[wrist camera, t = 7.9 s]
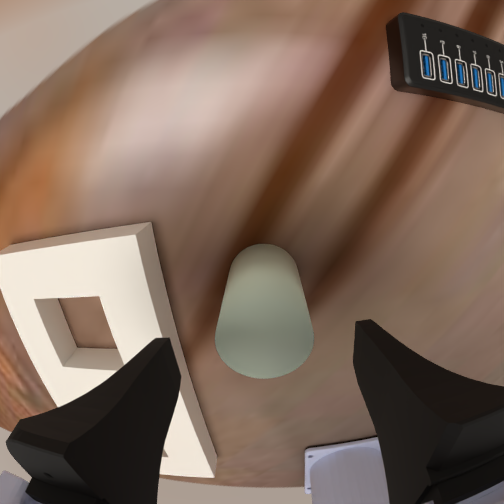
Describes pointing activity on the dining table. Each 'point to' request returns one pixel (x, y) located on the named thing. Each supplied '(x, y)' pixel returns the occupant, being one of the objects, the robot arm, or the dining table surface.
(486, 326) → the dining table surface
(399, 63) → the multiport hub
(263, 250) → the peg sage
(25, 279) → the white flat block
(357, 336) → the robot arm
